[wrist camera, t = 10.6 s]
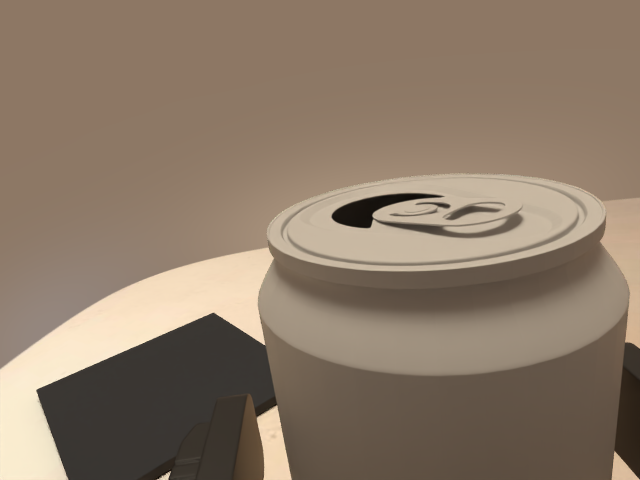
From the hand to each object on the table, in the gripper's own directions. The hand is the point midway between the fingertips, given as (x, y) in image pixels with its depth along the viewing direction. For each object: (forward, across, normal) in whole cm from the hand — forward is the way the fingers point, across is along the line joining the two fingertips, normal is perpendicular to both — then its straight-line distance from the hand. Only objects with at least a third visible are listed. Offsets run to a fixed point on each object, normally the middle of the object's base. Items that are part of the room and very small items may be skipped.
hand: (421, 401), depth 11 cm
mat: (+12, +11, +7) cm, 18 cm away
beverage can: (-1, 0, +7) cm, 7 cm away
